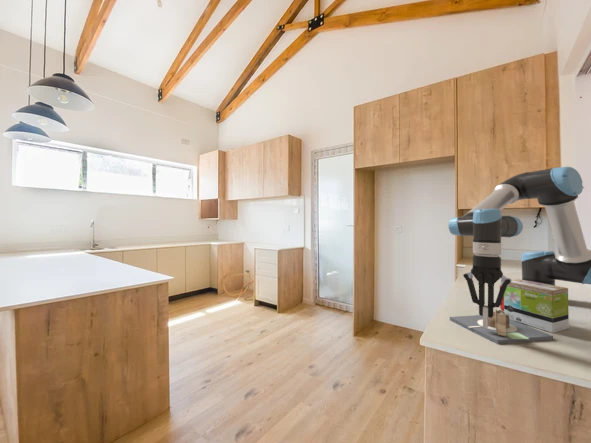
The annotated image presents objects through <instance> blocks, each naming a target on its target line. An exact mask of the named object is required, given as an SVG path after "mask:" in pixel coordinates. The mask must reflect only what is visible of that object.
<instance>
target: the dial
mask: <svg viewBox="0 0 591 443" xmlns="http://www.w3.org/2000/svg"><path fill="white" fill-rule="evenodd" d="M489 326H491V327H495V328H496V331H497V334H498V335H503V336H506V329H507V328H509V316H508V315H506V314H505V313H504V311H503V310H501V308H500V307H497V309H495V310H494V311H493V317H492V318H490V317H489Z"/></svg>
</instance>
